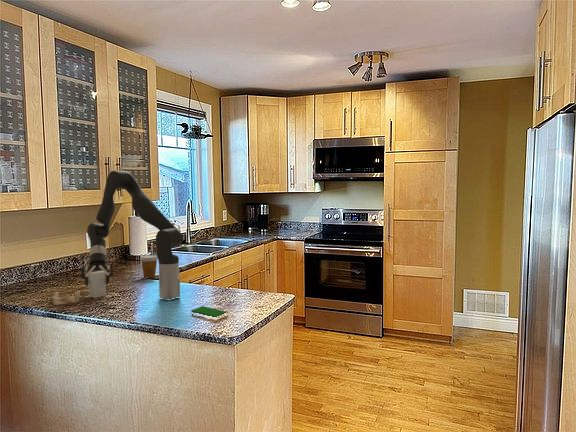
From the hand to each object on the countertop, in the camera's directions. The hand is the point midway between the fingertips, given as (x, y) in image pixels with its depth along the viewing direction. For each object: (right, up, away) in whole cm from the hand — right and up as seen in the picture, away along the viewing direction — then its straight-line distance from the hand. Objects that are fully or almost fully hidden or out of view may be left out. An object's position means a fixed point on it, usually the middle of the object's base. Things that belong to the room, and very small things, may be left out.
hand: (97, 284), depth 196 cm
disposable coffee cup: (+11, -3, +41) cm, 42 cm away
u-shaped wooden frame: (-12, -7, -5) cm, 14 cm away
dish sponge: (+58, -10, -24) cm, 64 cm away
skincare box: (-1, -6, +2) cm, 7 cm away
